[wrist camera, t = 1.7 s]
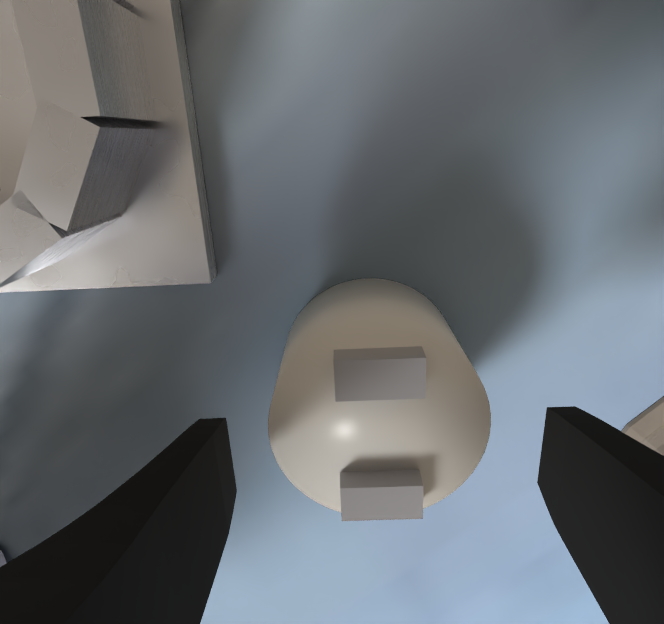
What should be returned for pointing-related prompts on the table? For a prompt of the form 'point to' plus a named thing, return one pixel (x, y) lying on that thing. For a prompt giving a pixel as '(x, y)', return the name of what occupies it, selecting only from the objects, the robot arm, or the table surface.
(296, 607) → the table surface
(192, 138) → the ring mount
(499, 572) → the table surface
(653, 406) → the mug
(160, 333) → the table surface
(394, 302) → the beige rounded cylinder
